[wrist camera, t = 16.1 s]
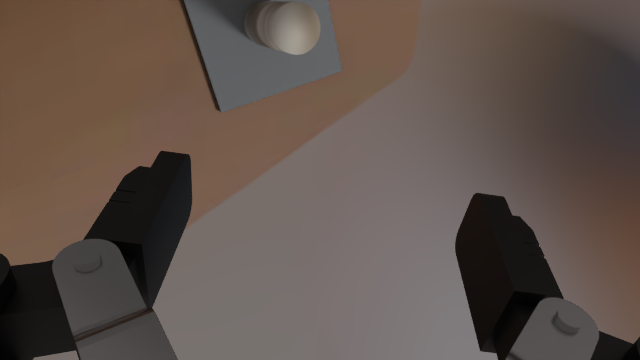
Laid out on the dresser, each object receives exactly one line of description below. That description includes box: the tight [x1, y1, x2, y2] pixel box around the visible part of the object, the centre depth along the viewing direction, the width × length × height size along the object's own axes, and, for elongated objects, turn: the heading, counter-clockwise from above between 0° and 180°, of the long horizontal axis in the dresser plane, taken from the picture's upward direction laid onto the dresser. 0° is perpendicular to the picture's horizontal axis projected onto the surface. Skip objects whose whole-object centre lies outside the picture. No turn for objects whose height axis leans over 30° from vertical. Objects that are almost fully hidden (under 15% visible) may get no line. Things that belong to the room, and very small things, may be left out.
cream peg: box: [244, 1, 320, 55], centre depth 49 cm, size 5×5×10 cm
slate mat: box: [183, 0, 342, 113], centre depth 54 cm, size 16×16×1 cm
